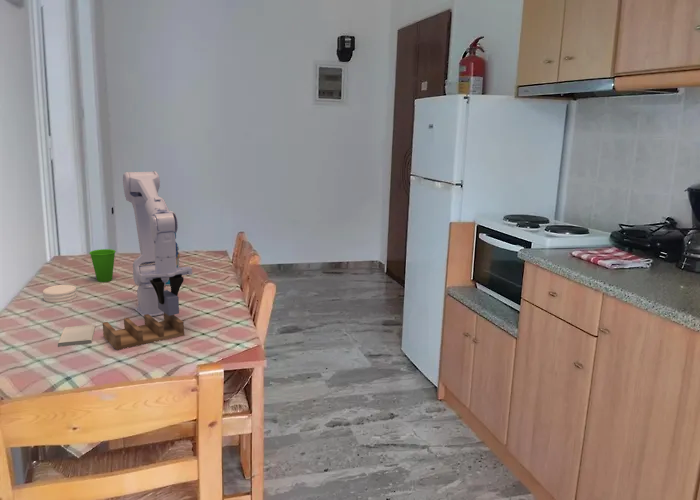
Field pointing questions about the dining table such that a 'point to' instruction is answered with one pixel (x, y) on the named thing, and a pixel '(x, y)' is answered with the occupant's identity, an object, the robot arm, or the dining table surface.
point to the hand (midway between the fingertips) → (167, 302)
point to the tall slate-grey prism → (169, 303)
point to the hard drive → (77, 335)
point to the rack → (143, 331)
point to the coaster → (59, 293)
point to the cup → (103, 264)
